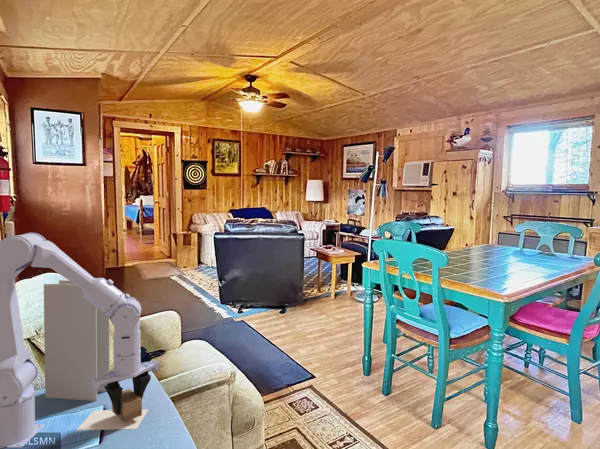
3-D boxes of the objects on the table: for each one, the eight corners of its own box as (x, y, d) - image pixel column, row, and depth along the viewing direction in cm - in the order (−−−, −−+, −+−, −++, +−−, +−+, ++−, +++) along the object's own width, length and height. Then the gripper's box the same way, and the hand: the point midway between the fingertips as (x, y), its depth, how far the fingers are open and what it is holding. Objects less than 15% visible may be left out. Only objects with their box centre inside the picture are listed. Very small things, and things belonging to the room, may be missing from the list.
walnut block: (141, 415, 86) (141, 398, 86) (124, 422, 83) (124, 405, 83) (129, 404, 90) (129, 388, 90) (112, 411, 87) (112, 394, 87)
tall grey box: (110, 392, 100) (109, 282, 98) (96, 402, 94) (95, 286, 93) (61, 388, 101) (59, 280, 100) (45, 399, 95) (43, 284, 94)
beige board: (76, 432, 82) (76, 430, 82) (93, 412, 90) (93, 410, 90) (136, 430, 82) (136, 428, 82) (148, 411, 90) (148, 409, 90)
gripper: (149, 339, 94) (149, 391, 94) (86, 355, 83) (87, 414, 83) (163, 346, 89) (163, 401, 90) (98, 365, 78) (99, 427, 79)
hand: (127, 408), depth 86 cm, fingers closed on walnut block, 4 cm apart
